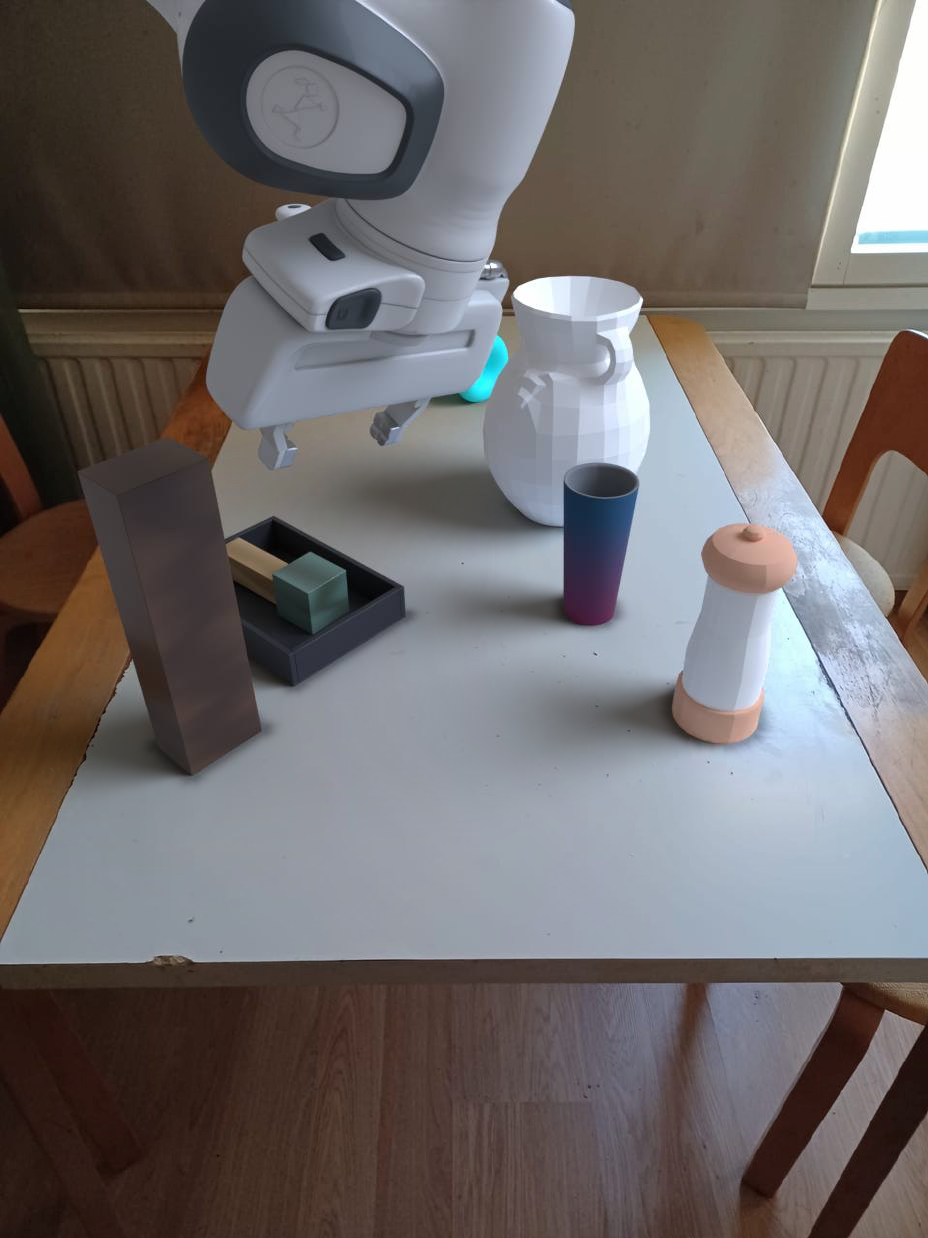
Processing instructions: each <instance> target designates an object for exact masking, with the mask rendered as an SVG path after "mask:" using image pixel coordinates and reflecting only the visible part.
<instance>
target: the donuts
mask: <svg viewBox="0 0 928 1238" xmlns="http://www.w3.org/2000/svg"><path fill="white" fill-rule="evenodd" d="M508 360H509V355H508V349H507V346H506V344H505V342H504V340H503V339H502V338H501V337H500V336H499V335H498V334H497V336H496V339H495V342H494V344H493V347H492V350H491V352H490V355H489V357H488V360H487V363H486V365H485V367H484V370H483V372H482V374H481V376H480V378H479V379H478V380H477V381H476V382H475V383H474V384H473V385H472V386H471V387H470V388H469V389H468V390H467V391H465V392H461V393H458V394H459V395H460V396H461V398H463V399H464V400H466V401H468V402H470V403H481V402H484V401H486V400H487V401H488V400H489V397H490V395H491V392H492V389H493V387H494V384H495V382H496V380H497V377H498V375H499V373H500V372H501V371H502V369H503V368H504V366H505V365H506V363H507V362H508Z"/></svg>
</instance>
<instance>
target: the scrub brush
mask: <svg viewBox="0 0 928 1238" xmlns="http://www.w3.org/2000/svg"><path fill="white" fill-rule="evenodd" d="M226 548H227V553H228V559H229V564H230V569H231V574H232V579H233V580H234V581H236V582H238V583H239V584H241V585H243V586H245V587H246V588H248V589H250V590H252V591H253V592H255V593H257V594H259V595H260V596H262V597H264V598H265V599H267V600H269V601H271V602H272V603H274V604H276V606H277V613H278V615H279V616H281V617H283V618H284V619H286V620H288V621H289V622H291V623H293V624H295V625H296V626H298V627H300V628H301V629H303V630H305V631H307V632H308V633H310V634H312V635H314V634H315V633H317V632H318V631H320V630H321V629H323V628H324V627H326V626H327V625H329V624H330V623H332V622H333V621H335V620H336V619H338V618H339V617H341V616H342V615H344V614H345V613H347V612H348V611H349V604H348V592H347V579H346V570H344V569H342V568H340V567H339V566H337V565H335V564H333V563H331V562H329V561H327V560H325V559H323V558H321V557H319V556H317V555H315V554H314V553H312V552H309V553H307V554H305V555H304V556H302V557H300V558H298V559H297V560H295V561H293V562H291V563H290V564H287V563H286V562H284V561H282V560H280V559H278V558H276V557H274V556H273V555H271V554H269V553H267V552H265V551H263V550H261V549H260V548H258V547H256V546H254V545H252V544H250V543H248V542H247V541H245V540H243V539H241V538H239V537H238V538H236V539H235V540H233V541H231V542H229V543H227V544H226Z"/></svg>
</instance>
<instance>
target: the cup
mask: <svg viewBox="0 0 928 1238" xmlns="http://www.w3.org/2000/svg"><path fill="white" fill-rule="evenodd" d="M639 489H640V479H639V477H638V476H637V474H636V475H635V473H633V472H632V471H630V470H629V469H627V468H625V467H622V466H619V465H615V464H610V463H599V462H596V463H585V464H581V465H577V466H575V467H572V468H571V469H569V470H568V471H567V472H566V473H565V475H564V527H563V571H562V573H563V576H562V577H563V579H562V580H563V581H562V582H563V585H562V586H563V588H562V589H563V595H562V597H563V602H562V603H563V607H562V608H563V610H562V611H563V614H564V615H565V616H566V618H567V619H568V620H570V621H571V622H573V623H575V624H578V625H582V626H588V627H589V626H591V627H592V626H593V627H594V626H595V627H596V626H600V625H604V624H606V623H608V622H610V621H611V620H612V619H613V617H614V615H615V611H616V607H617V601H618V597H619V592H620V585H621V580H622V575H623V571H624V565H625V559H626V555H627V551H628V545H629V540H630V534H631V530H632V524H633V519H634V516H635V515H634V514H635V509H636V503H637V499H638V493H639Z"/></svg>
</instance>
